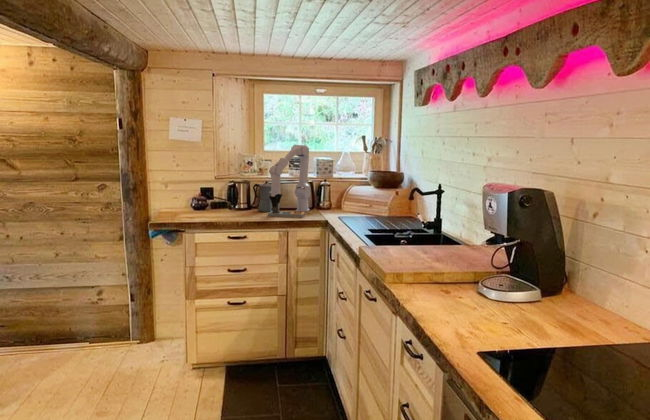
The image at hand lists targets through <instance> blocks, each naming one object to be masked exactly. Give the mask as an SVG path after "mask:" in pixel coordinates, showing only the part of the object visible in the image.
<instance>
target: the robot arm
mask: <svg viewBox="0 0 650 420" xmlns="http://www.w3.org/2000/svg"><path fill="white" fill-rule="evenodd" d="M295 156H297V157H298V158H299V159H300V164H299V178H298V183H297V184H296V186H295V189H294V195H295V196H296V202H297V203H296V209H295V212H305V213H306V212H307V213H308V212H309V211H310V208H309V198H310V196H311V186H310V185H309V183H308V177H309V176H308V175H309V164H310V163H309V162H310V160H309V159H310V148H309V147H308V145H307V144H293V145H292V146H291V149H290V150H289V152H287V154H286V155H285V157H280V158H279V160H278V161H277V162H276V163H275V164H274V165H271V166H270V168H269V170H268V172H269V174H270V178H271V180H270V184H271V192H269V193H271V196H269V198H270V200H271V207H275V208H276V205H277V203H279V204H281V202H280V201H281V199H282V196H283V194H282V193H281V175H282V174H283V173H284V172H283V171H284V170H285V168H286V167H287V166H288V165H289V162H290V161H291V160H292V159H294V157H295Z"/></svg>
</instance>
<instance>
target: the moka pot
mask: <svg viewBox="0 0 650 420" xmlns="http://www.w3.org/2000/svg"><path fill="white" fill-rule="evenodd" d="M257 187H258V188H259V189H258V190H259V196H258V195H257V191H256V188H257ZM252 189H253V192H254V196H255V198H257V199H259V205H258V208H257V209H258V211H259V212H263V213H269V212H271V211H272V203H271V200H270V198H269V196H271V193H269V192H271V183H268V181H267V180H266V181H265V183H263V184H262V183H261V184H260V183H255V184H253V187H252Z"/></svg>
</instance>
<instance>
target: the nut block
mask: <svg viewBox="0 0 650 420" xmlns="http://www.w3.org/2000/svg"><path fill="white" fill-rule="evenodd" d="M271 207H272V206H271ZM279 211H280V203H277V205H276V208H275V207H272V213H279Z"/></svg>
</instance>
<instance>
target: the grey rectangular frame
mask: <svg viewBox="0 0 650 420" xmlns="http://www.w3.org/2000/svg"><path fill="white" fill-rule="evenodd" d="M267 217H274V218H275V217H277V218H295V217H303V218H304V217H306V212H301V211H280V210H279V213H272V211H271V212H267Z"/></svg>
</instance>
